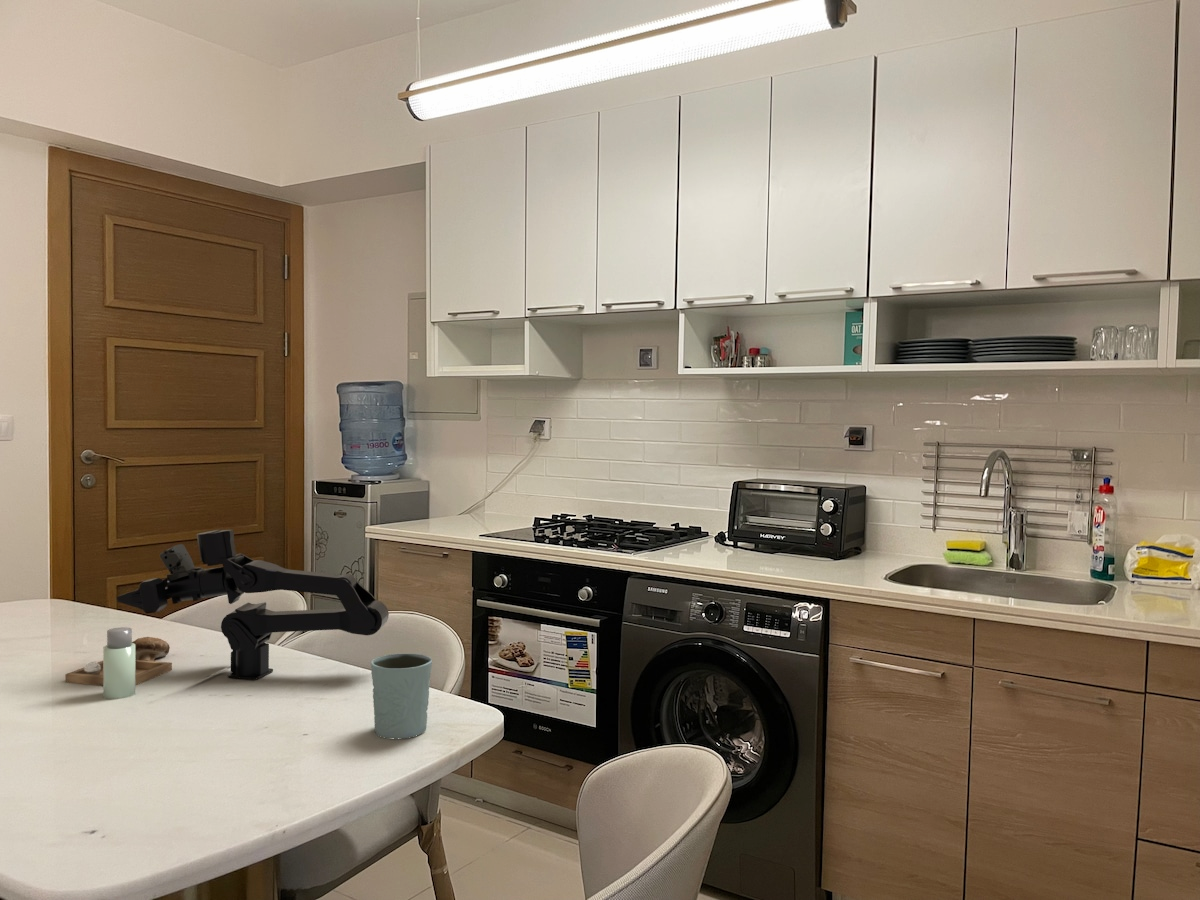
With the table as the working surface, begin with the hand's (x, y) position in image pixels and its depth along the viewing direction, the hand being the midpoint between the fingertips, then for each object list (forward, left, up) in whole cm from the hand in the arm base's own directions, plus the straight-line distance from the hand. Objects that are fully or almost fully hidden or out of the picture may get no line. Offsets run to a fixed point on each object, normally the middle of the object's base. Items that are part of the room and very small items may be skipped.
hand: (129, 594), depth 181 cm
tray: (-2, +5, -16) cm, 17 cm away
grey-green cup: (-66, +17, -16) cm, 70 cm away
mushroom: (+1, -7, -16) cm, 18 cm away
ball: (+2, +8, -15) cm, 17 cm away
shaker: (-10, +15, -16) cm, 24 cm away
